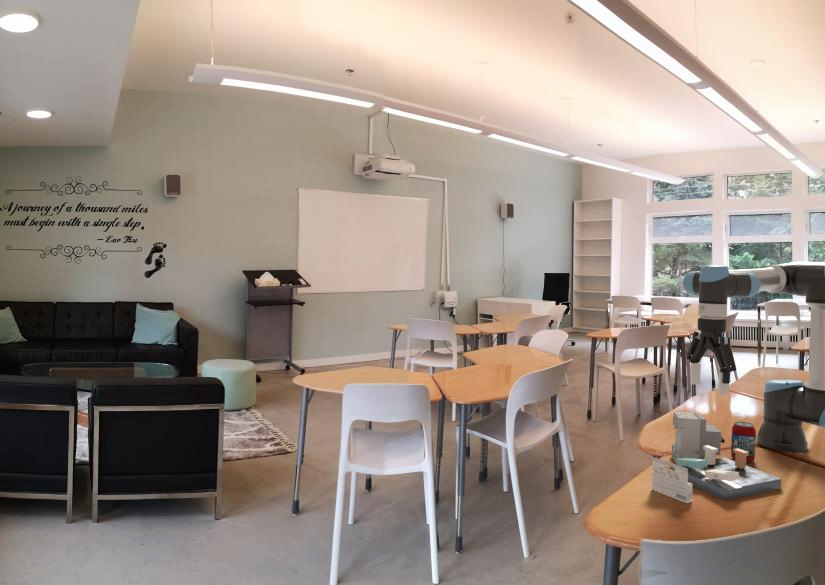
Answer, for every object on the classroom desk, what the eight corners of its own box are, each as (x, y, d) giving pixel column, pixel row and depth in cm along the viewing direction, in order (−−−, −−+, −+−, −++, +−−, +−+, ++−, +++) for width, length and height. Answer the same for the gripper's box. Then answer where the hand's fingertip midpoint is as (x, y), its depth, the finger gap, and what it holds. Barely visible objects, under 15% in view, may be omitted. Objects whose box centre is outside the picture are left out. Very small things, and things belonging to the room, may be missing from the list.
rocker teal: (687, 463, 178) (686, 456, 178) (709, 466, 171) (708, 459, 171) (675, 465, 176) (674, 458, 177) (696, 468, 169) (695, 461, 169)
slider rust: (737, 464, 177) (738, 448, 176) (748, 468, 173) (748, 452, 173) (732, 465, 176) (733, 449, 176) (743, 469, 173) (743, 452, 172)
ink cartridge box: (656, 488, 168) (657, 455, 167) (692, 502, 158) (693, 467, 158) (651, 490, 166) (651, 456, 166) (687, 504, 157) (688, 468, 156)
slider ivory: (707, 461, 180) (708, 445, 179) (717, 465, 176) (718, 448, 176) (702, 461, 179) (703, 445, 179) (712, 465, 176) (713, 449, 175)
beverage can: (732, 461, 189) (733, 425, 188) (729, 455, 195) (731, 420, 195) (756, 464, 187) (757, 427, 186) (752, 458, 193) (754, 422, 192)
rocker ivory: (716, 475, 168) (715, 468, 168) (740, 478, 161) (739, 471, 161) (704, 477, 166) (703, 470, 167) (727, 481, 159) (726, 474, 159)
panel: (723, 466, 185) (724, 456, 185) (783, 489, 166) (783, 478, 166) (669, 475, 177) (670, 465, 177) (725, 501, 159) (726, 489, 158)
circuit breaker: (725, 467, 184) (727, 420, 183) (677, 464, 187) (678, 417, 186) (718, 459, 192) (719, 414, 191) (671, 456, 194) (673, 411, 194)
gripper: (676, 313, 184) (673, 380, 185) (727, 322, 159) (723, 399, 161) (698, 313, 185) (695, 380, 186) (753, 322, 160) (749, 398, 161)
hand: (708, 389), depth 173 cm, fingers open, 13 cm apart
